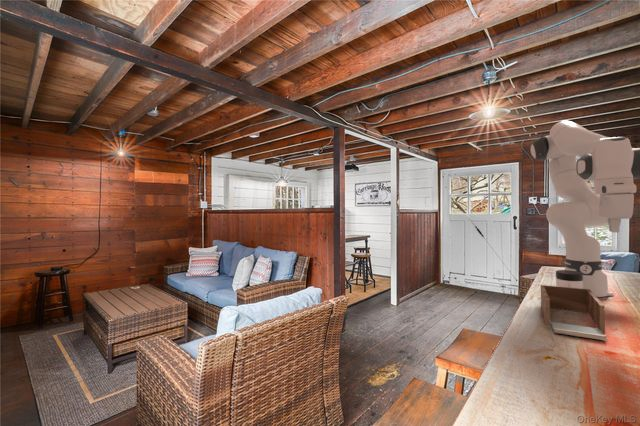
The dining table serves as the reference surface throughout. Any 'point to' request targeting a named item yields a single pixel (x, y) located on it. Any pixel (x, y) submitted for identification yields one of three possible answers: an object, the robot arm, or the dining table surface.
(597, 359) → the dining table surface
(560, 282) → the jar
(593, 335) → the panel
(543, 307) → the crate
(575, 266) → the robot arm
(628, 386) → the dining table surface
